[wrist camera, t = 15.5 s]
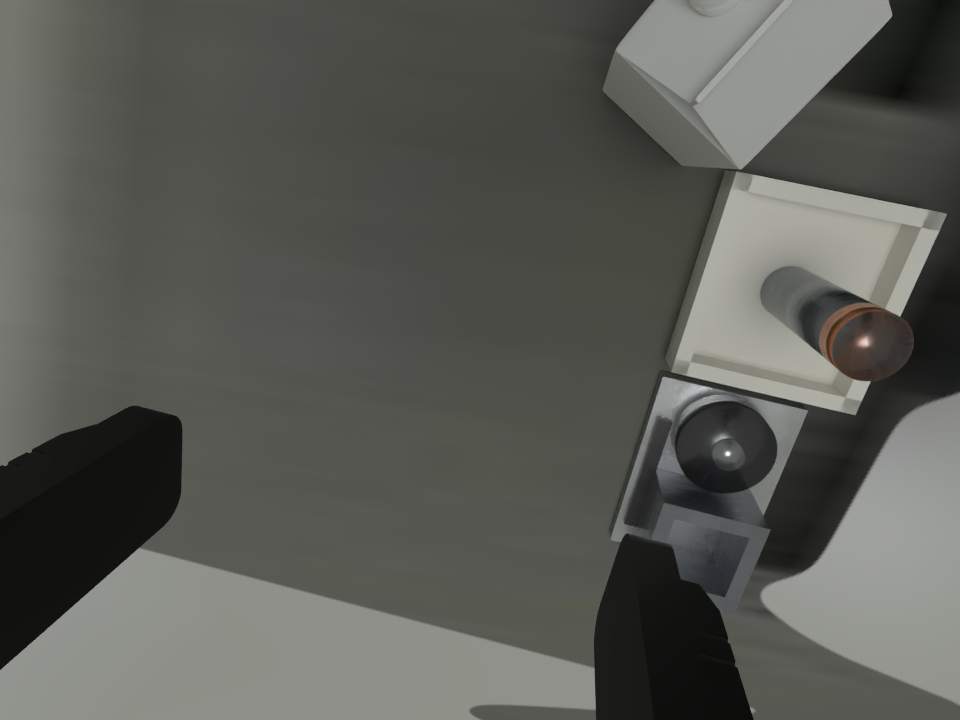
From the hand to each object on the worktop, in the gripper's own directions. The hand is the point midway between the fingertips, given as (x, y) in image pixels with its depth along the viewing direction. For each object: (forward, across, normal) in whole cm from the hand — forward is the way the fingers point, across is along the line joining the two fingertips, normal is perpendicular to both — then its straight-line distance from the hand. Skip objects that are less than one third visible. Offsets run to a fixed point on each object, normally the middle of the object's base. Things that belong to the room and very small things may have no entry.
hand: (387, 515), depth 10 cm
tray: (+33, -17, -1) cm, 37 cm away
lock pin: (+32, -17, -1) cm, 37 cm away
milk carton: (+33, -7, -12) cm, 36 cm away
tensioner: (+33, -16, +14) cm, 39 cm away
